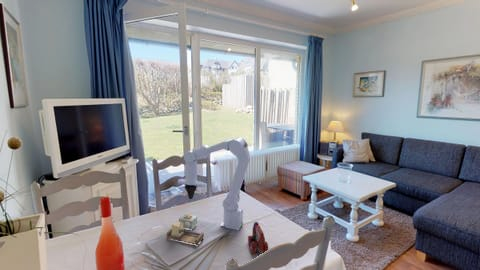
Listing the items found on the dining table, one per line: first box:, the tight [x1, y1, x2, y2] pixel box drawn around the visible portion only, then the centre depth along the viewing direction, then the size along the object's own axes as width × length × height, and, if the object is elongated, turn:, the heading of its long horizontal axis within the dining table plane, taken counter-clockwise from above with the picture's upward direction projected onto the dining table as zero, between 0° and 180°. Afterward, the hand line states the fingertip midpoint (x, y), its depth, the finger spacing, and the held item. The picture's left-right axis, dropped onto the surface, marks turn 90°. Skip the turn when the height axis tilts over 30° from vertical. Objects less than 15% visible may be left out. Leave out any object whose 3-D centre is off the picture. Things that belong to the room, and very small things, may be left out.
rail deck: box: [166, 228, 205, 246], centre depth 102 cm, size 15×6×3 cm, turn 72°
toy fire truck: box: [247, 221, 269, 254], centre depth 98 cm, size 7×12×10 cm, turn 10°
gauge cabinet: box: [178, 213, 198, 229], centre depth 112 cm, size 7×5×5 cm
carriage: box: [171, 220, 184, 238], centre depth 102 cm, size 5×4×5 cm
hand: (191, 198), depth 120 cm, fingers closed
